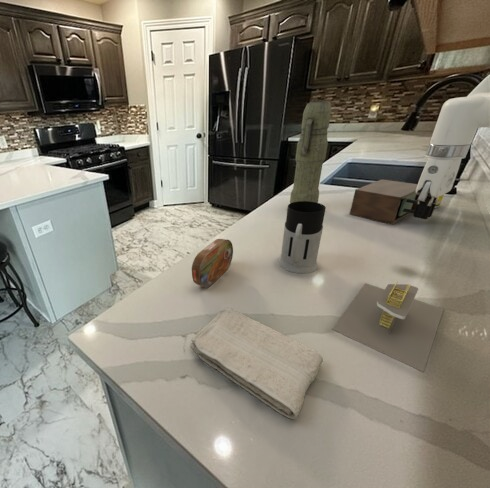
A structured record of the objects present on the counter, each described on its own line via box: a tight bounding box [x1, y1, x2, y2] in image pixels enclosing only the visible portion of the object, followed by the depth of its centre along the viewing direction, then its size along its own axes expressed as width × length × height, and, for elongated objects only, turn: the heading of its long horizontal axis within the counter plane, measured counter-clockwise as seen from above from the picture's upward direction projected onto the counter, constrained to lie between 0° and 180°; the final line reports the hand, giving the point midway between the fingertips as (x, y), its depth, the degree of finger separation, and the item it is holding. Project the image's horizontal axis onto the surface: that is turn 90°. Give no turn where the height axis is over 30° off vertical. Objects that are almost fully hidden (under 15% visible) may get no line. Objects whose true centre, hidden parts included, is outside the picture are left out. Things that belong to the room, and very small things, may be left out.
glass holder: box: [277, 201, 326, 274], centre depth 59 cm, size 9×14×15 cm, turn 147°
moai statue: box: [289, 99, 332, 204], centre depth 87 cm, size 9×12×35 cm
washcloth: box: [189, 307, 324, 420], centre depth 42 cm, size 12×18×3 cm, turn 46°
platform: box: [332, 280, 444, 373], centre depth 45 cm, size 12×18×7 cm, turn 131°
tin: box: [191, 238, 234, 289], centre depth 62 cm, size 15×3×8 cm, turn 139°
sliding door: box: [398, 193, 418, 216], centre depth 77 cm, size 6×7×6 cm
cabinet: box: [349, 179, 420, 226], centre depth 84 cm, size 12×16×8 cm
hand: (421, 216), depth 76 cm, fingers closed
